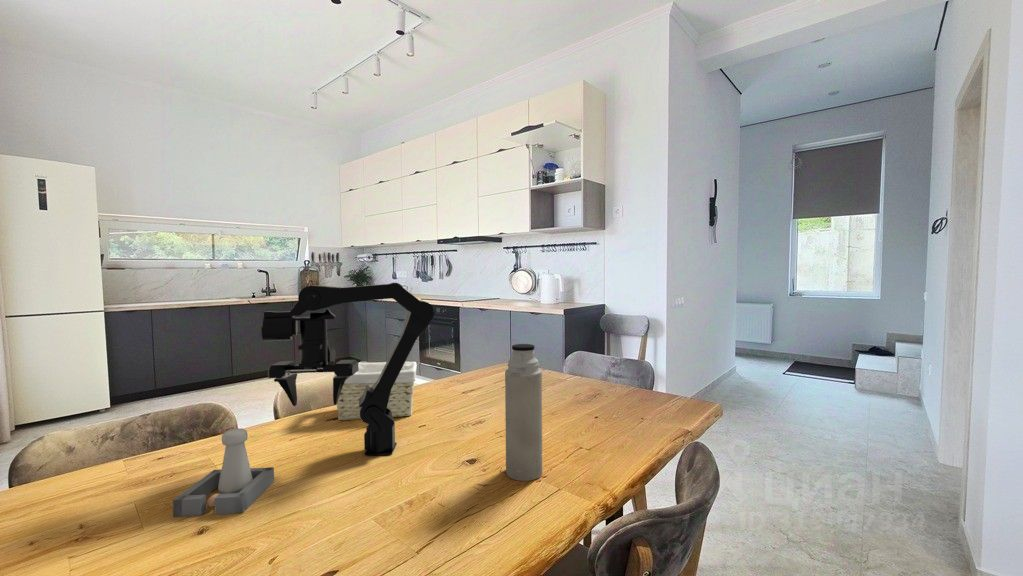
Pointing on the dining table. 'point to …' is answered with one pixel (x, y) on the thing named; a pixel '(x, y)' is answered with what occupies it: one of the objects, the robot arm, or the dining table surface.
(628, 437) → the dining table surface
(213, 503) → the plunger left
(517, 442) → the thermos bottle
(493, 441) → the dining table surface
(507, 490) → the dining table surface
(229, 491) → the salt shaker
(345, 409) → the storage basket
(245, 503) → the grey square frame
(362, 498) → the dining table surface
